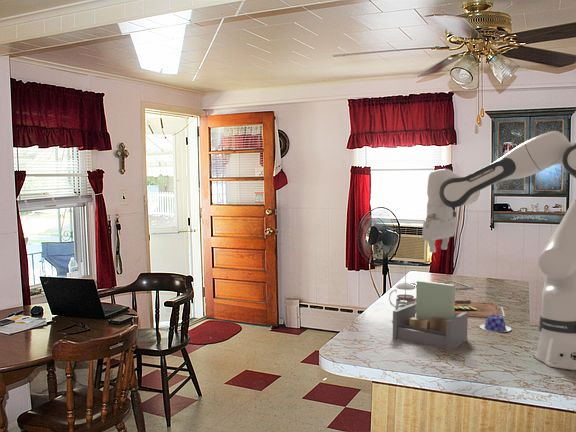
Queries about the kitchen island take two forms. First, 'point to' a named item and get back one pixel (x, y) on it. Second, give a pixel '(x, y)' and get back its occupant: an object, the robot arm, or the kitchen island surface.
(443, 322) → the offcut walnut
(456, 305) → the chopping board
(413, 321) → the offcut oak
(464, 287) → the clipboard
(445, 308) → the tall panel
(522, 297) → the kitchen island surface
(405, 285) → the french press
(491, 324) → the pudding
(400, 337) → the rack
